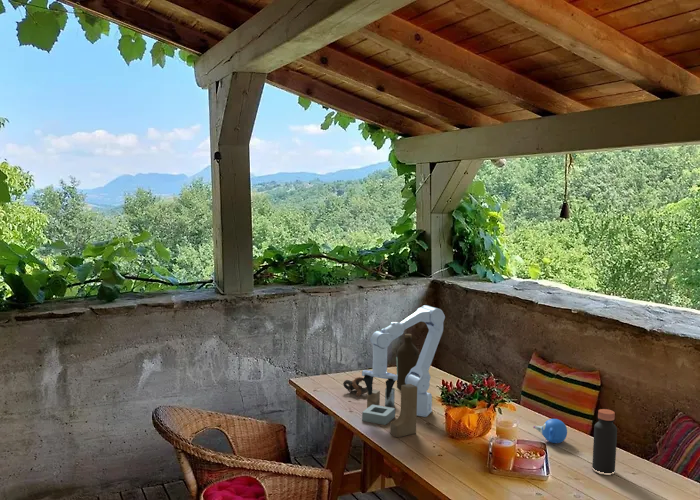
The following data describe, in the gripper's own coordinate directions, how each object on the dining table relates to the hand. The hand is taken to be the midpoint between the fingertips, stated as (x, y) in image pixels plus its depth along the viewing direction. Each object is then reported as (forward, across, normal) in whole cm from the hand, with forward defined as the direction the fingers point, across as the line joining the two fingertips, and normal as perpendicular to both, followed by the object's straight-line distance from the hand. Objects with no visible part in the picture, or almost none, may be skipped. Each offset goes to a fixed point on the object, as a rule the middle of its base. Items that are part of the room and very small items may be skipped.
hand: (379, 395), depth 239 cm
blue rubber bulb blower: (+10, +64, +8) cm, 65 cm away
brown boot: (+10, +14, -10) cm, 20 cm away
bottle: (+10, +83, -10) cm, 84 cm away
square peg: (+9, -7, +11) cm, 16 cm away
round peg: (+9, -2, +17) cm, 20 cm away
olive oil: (+10, -4, +44) cm, 45 cm away
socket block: (+9, 0, 0) cm, 9 cm away
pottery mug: (+10, -21, +25) cm, 34 cm away
